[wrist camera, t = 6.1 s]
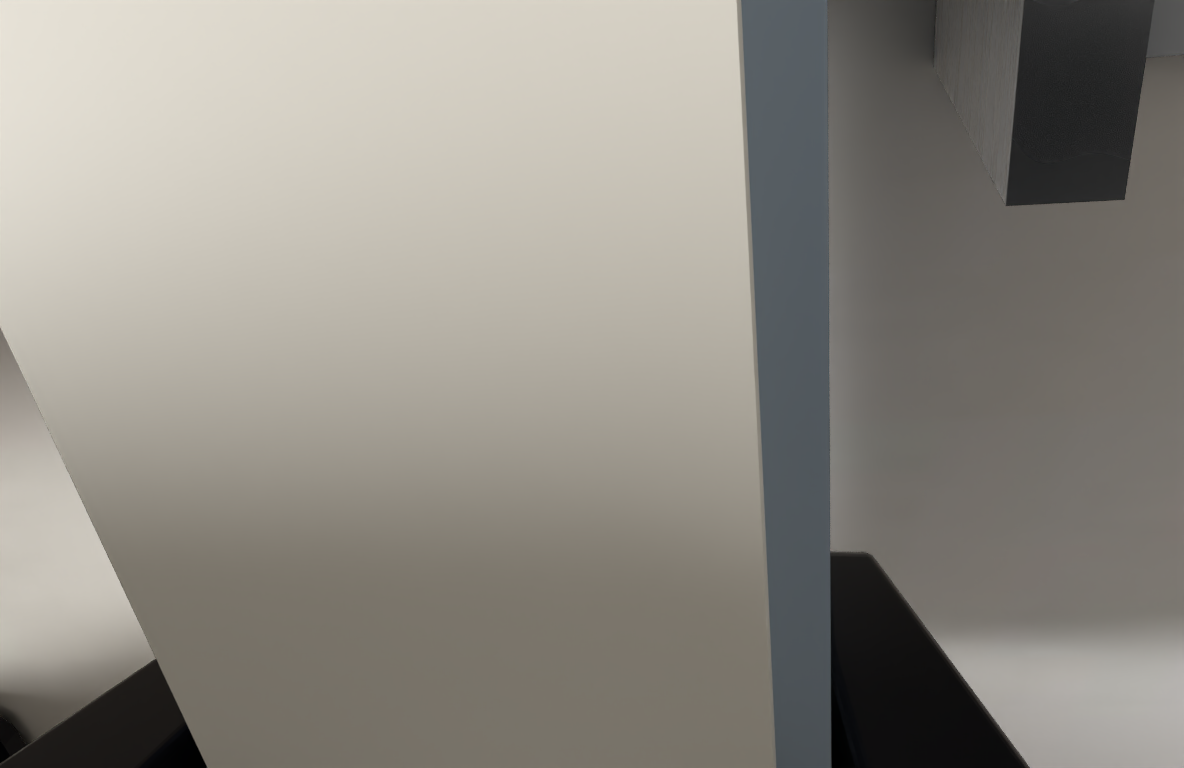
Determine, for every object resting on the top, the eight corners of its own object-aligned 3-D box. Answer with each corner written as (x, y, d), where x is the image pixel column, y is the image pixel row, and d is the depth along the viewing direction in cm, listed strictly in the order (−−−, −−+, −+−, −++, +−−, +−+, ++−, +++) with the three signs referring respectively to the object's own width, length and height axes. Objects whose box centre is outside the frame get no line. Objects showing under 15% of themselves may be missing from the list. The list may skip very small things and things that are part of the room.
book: (820, 809, 13) (834, 1334, 9) (534, 789, 14) (410, 1256, 9) (805, -242, 7) (825, -322, 3) (313, -166, 8) (-287, -135, 4)
